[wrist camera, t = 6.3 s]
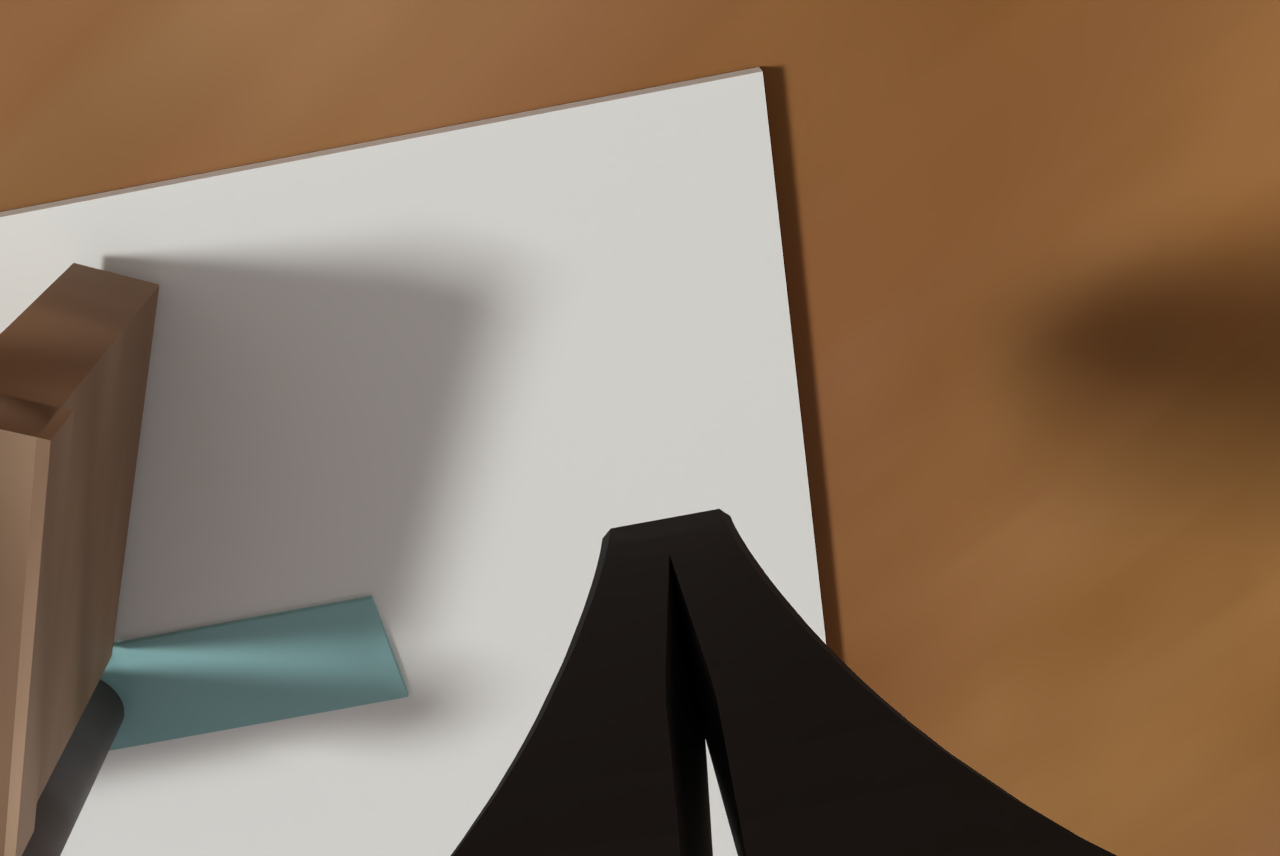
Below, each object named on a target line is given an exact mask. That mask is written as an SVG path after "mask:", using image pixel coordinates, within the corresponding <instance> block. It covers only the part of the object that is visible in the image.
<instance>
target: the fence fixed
mask: <svg viewBox="0 0 1280 856" xmlns="http://www.w3.org/2000/svg"><path fill="white" fill-rule="evenodd" d="M123 718H124V706H123V703H122V701H121V698H120V697H119V695H118V694H117V693H116V691H115V690H114V689H113V688H112V687H111V686H109V685H108V684H107V683H105V682H104V681H102V680H99V682H98V684H97V686H96V688H95V690H94V692H93V694H92V696H91V698H90V700H89V702H88V704H87V706H86V708H85V710H84V712H83V713H82V715H81V717H80V719H79V721H78V723H77V725H76V727H75V729H74V731H73V733H72V735H71V737H70V739H69V741H68V743H67V745H66V747H65V749H64V751H63V753H62V755H61V756H60V758H59V760H58V762H57V764H56V766H55V768H54V770H53V772H52V774H51V776H50V778H49V780H48V782H47V784H46V786H45V788H44V790H43V792H42V794H41V796H40V798H39V800H38V801H37V806H36V817H35V827H34V832H33V834H32V836H31V838H30V840H29V842H28V844H27V846H26V848H25V850H24V852H23V854H22V856H60V855H61V853H62V851H63V849H64V847H65V845H66V842H67V840H68V838H69V836H70V834H71V832H72V829H73V827H74V825H75V823H76V821H77V819H78V817H79V814H80V812H81V810H82V808H83V806H84V804H85V801H86V799H87V797H88V795H89V793H90V791H91V788H92V786H93V784H94V782H95V780H96V778H97V776H98V773H99V771H100V769H101V767H102V765H103V763H104V760H105V758H106V756H107V754H108V752H109V750H110V747H111V745H112V743H113V741H114V739H115V737H116V735H117V732H118V730H119V728H120V726H121V724H122V722H123Z"/></svg>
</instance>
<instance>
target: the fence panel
mask: <svg viewBox="0 0 1280 856" xmlns="http://www.w3.org/2000/svg"><path fill="white" fill-rule="evenodd" d="M158 292H159V284H155V283H151V282H147V281H143V280H139V279H135V278H131V277H127V276H123V275H119V274H116V273H112V272H108V271H104V270H100V269H96V268H92V267H88V266H84V265H80V264H76V263H73V264H72V265H71V266H70V267H69V268H68V269H67V270H66V271H65V272H64V273H63V274H62V275H61V276H60V277H58V278H57V279H56V280H55V281H54V282H53V283H52V284H51V285H50V286H49V287H48V288H47V289H46V290H45V291H44V292H43V293H42V294H41V295H40V296H39V297H38V298H37V299H36V300H35V301H34V302H33V303H32V304H31V305H30V306H29V307H28V308H27V309H25V310H24V311H23V312H22V313H21V314H20V315H19V316H18V317H17V318H16V319H15V320H14V321H13V322H12V323H11V324H10V325H9V326H8V327H7V328H6V329H5V330H4V331H3V332H2V333H1V334H0V856H22V854H23V852H24V850H25V848H26V846H27V844H28V842H29V840H30V838H31V836H32V834H33V832H34V827H35V817H36V806H37V801H38V800H39V798H40V796H41V794H42V792H43V790H44V788H45V786H46V784H47V782H48V780H49V778H50V776H51V774H52V772H53V770H54V768H55V766H56V764H57V762H58V760H59V758H60V756H61V755H62V753H63V751H64V749H65V747H66V745H67V743H68V741H69V739H70V737H71V735H72V733H73V731H74V729H75V727H76V725H77V723H78V721H79V719H80V717H81V715H82V713H83V712H84V710H85V708H86V706H87V704H88V702H89V700H90V698H91V696H92V694H93V692H94V690H95V688H96V686H97V684H98V682H99V680H100V678H101V676H102V674H103V672H104V670H105V668H106V667H107V665H108V663H109V661H110V659H111V657H112V650H113V643H114V635H115V627H116V619H117V611H118V604H119V596H120V588H121V580H122V573H123V565H124V557H125V549H126V541H127V534H128V526H129V518H130V510H131V503H132V495H133V487H134V479H135V471H136V464H137V456H138V448H139V440H140V432H141V425H142V417H143V409H144V401H145V394H146V386H147V378H148V370H149V362H150V355H151V347H152V339H153V331H154V324H155V316H156V308H157V300H158Z"/></svg>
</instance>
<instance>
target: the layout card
mask: <svg viewBox="0 0 1280 856" xmlns="http://www.w3.org/2000/svg"><path fill="white" fill-rule="evenodd" d="M73 263H76V264H80V265H84V266H88V267H92V268H96V269H100V270H104V271H108V272H112V273H116V274H119V275H123V276H127V277H131V278H135V279H139V280H143V281H147V282H151V283H155V284H159V292H158V300H157V308H156V316H155V324H154V331H153V339H152V347H151V355H150V362H149V370H148V378H147V386H146V394H145V401H144V409H143V417H142V425H141V432H140V440H139V448H138V456H137V464H136V471H135V479H134V487H133V495H132V503H131V510H130V518H129V526H128V534H127V541H126V549H125V557H124V565H123V573H122V580H121V588H120V596H119V604H118V611H117V619H116V627H115V635H114V643H113V650H112V657H111V659H110V661H109V663H108V665H107V667H106V668H105V670H104V672H103V674H102V676H101V678H100V680H102V681H104V682H105V683H107V684H108V685H109V686H111V687H112V688H113V689H114V690H115V691H116V693H117V694H118V695H119V697H120V698H121V701H122V703H123V706H124V718H123V722H122V724H121V726H120V728H119V730H118V732H117V735H116V737H115V739H114V741H113V743H112V745H111V747H110V750H109V752H108V754H107V756H106V758H105V760H104V763H103V765H102V767H101V769H100V771H99V773H98V776H97V778H96V780H95V782H94V784H93V786H92V788H91V791H90V793H89V795H88V797H87V799H86V801H85V804H84V806H83V808H82V810H81V812H80V814H79V817H78V819H77V821H76V823H75V825H74V827H73V829H72V832H71V834H70V836H69V838H68V840H67V842H66V845H65V847H64V849H63V851H62V853H61V855H60V856H451V854H452V853H453V851H454V850H455V849H456V847H457V846H458V845H459V843H460V842H461V840H462V839H463V838H464V836H465V835H466V833H467V832H468V830H469V829H470V827H471V826H472V824H473V823H474V821H475V820H476V818H477V817H478V815H479V814H480V812H481V811H482V809H483V808H484V806H485V805H486V803H487V802H488V800H489V799H490V798H491V796H492V795H493V793H494V791H495V790H496V788H497V787H498V785H499V783H500V782H501V780H502V778H503V777H504V775H505V773H506V772H507V770H508V768H509V767H510V765H511V763H512V762H513V760H514V758H515V757H516V755H517V753H518V751H519V749H520V748H521V746H522V744H523V742H524V740H525V739H526V737H527V735H528V733H529V731H530V729H531V727H532V726H533V724H534V722H535V720H536V718H537V716H538V714H539V712H540V710H541V707H542V705H543V703H544V701H545V699H546V697H547V695H548V693H549V691H550V688H551V686H552V684H553V682H554V680H555V678H556V676H557V674H558V672H559V669H560V667H561V665H562V663H563V660H564V658H565V656H566V653H567V651H568V648H569V645H570V643H571V640H572V638H573V635H574V633H575V630H576V627H577V625H578V622H579V620H580V617H581V614H582V612H583V609H584V606H585V603H586V600H587V597H588V594H589V591H590V588H591V585H592V581H593V578H594V575H595V571H596V567H597V563H598V559H599V555H600V550H601V544H602V538H603V537H604V536H605V535H606V534H607V532H608V531H609V530H610V529H611V528H616V527H621V526H627V525H632V524H638V523H643V522H649V521H654V520H660V519H665V518H671V517H676V516H682V515H687V514H693V513H698V512H704V511H709V510H715V509H720V510H722V511H723V512H725V513H727V514H728V515H730V516H731V519H732V521H733V523H734V525H735V527H736V529H737V531H738V533H739V534H740V536H741V538H742V540H743V541H744V543H745V544H746V546H747V548H748V549H749V551H750V552H751V554H752V555H753V557H754V558H755V559H756V561H757V562H758V564H759V565H760V566H761V568H762V569H763V570H764V572H765V573H766V575H767V576H768V577H769V579H770V580H771V581H772V582H773V584H774V585H775V586H776V588H777V589H778V590H779V591H780V593H781V594H782V595H783V596H784V597H785V598H786V600H787V601H788V602H789V603H790V604H791V606H792V607H793V608H794V609H795V610H796V611H797V613H798V614H799V615H800V616H801V617H802V619H803V620H804V621H805V622H806V623H807V624H808V626H809V627H810V628H811V629H812V630H813V631H814V632H815V633H816V634H817V635H818V636H819V637H820V639H821V640H822V641H823V642H824V643H825V644H826V638H825V629H824V620H823V611H822V602H821V593H820V584H819V575H818V566H817V557H816V548H815V539H814V530H813V521H812V512H811V503H810V494H809V485H808V476H807V467H806V458H805V449H804V440H803V431H802V422H801V413H800V404H799V395H798V386H797V377H796V368H795V359H794V350H793V341H792V332H791V323H790V314H789V305H788V296H787V287H786V278H785V269H784V260H783V251H782V242H781V233H780V224H779V215H778V206H777V197H776V188H775V179H774V169H773V160H772V151H771V142H770V133H769V124H768V115H767V106H766V97H765V88H764V79H763V71H762V70H761V69H760V67H756V68H751V69H746V70H741V71H735V72H730V73H725V74H720V75H715V76H709V77H704V78H699V79H694V80H688V81H683V82H678V83H673V84H668V85H662V86H657V87H652V88H647V89H641V90H636V91H631V92H626V93H620V94H615V95H610V96H605V97H600V98H594V99H589V100H584V101H579V102H573V103H568V104H563V105H558V106H553V107H547V108H542V109H537V110H532V111H526V112H521V113H516V114H511V115H506V116H500V117H495V118H490V119H485V120H479V121H474V122H469V123H464V124H459V125H453V126H448V127H443V128H438V129H432V130H427V131H422V132H417V133H412V134H406V135H401V136H396V137H391V138H385V139H380V140H375V141H370V142H365V143H359V144H354V145H349V146H344V147H338V148H333V149H328V150H323V151H318V152H312V153H307V154H302V155H297V156H291V157H286V158H281V159H276V160H271V161H265V162H260V163H255V164H250V165H244V166H239V167H234V168H229V169H223V170H218V171H213V172H208V173H203V174H197V175H192V176H187V177H182V178H176V179H171V180H166V181H161V182H156V183H150V184H145V185H140V186H135V187H129V188H124V189H119V190H114V191H109V192H103V193H98V194H93V195H88V196H82V197H77V198H72V199H67V200H62V201H56V202H51V203H46V204H41V205H35V206H30V207H25V208H20V209H15V210H9V211H4V212H0V334H1V333H2V332H3V331H4V330H5V329H6V328H7V327H8V326H9V325H10V324H11V323H12V322H13V321H14V320H15V319H16V318H17V317H18V316H19V315H20V314H21V313H22V312H23V311H24V310H25V309H27V308H28V307H29V306H30V305H31V304H32V303H33V302H34V301H35V300H36V299H37V298H38V297H39V296H40V295H41V294H42V293H43V292H44V291H45V290H46V289H47V288H48V287H49V286H50V285H51V284H52V283H53V282H54V281H55V280H56V279H57V278H58V277H60V276H61V275H62V274H63V273H64V272H65V271H66V270H67V269H68V268H69V267H70V266H71V265H72V264H73ZM705 741H706V739H705ZM706 756H707V771H708V786H709V802H710V817H711V833H712V849H713V856H738V855H737V851H736V847H735V844H734V840H733V837H732V833H731V829H730V826H729V822H728V819H727V815H726V811H725V808H724V804H723V801H722V797H721V793H720V790H719V786H718V782H717V779H716V775H715V772H714V768H713V764H712V761H711V757H710V753H709V750H708V746H707V743H706Z"/></svg>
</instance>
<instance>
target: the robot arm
mask: <svg viewBox="0 0 1280 856" xmlns="http://www.w3.org/2000/svg"><path fill="white" fill-rule="evenodd" d="M705 739H706V741H705ZM706 743H707V746H708V750H709V753H710V757H711V761H712V764H713V768H714V772H715V775H716V779H717V782H718V786H719V790H720V793H721V797H722V801H723V804H724V808H725V811H726V815H727V819H728V822H729V826H730V829H731V833H732V837H733V840H734V844H735V847H736V851H737V855H738V856H1116V855H1114V854H1112V853H1110V852H1108V851H1106V850H1104V849H1102V848H1100V847H1098V846H1096V845H1094V844H1092V843H1090V842H1088V841H1086V840H1084V839H1082V838H1080V837H1079V836H1077V835H1075V834H1074V833H1072V832H1070V831H1069V830H1067V829H1065V828H1064V827H1062V826H1060V825H1059V824H1057V823H1055V822H1054V821H1052V820H1050V819H1048V818H1047V817H1045V816H1043V815H1042V814H1040V813H1038V812H1037V811H1035V810H1033V809H1032V808H1030V807H1028V806H1027V805H1025V804H1024V803H1022V802H1021V801H1019V800H1018V799H1016V798H1015V797H1013V796H1012V795H1010V794H1009V793H1007V792H1006V791H1004V790H1003V789H1002V788H1000V787H999V786H997V785H996V784H994V783H993V782H991V781H990V780H988V779H987V778H985V777H984V776H982V775H981V774H979V773H978V772H977V771H975V770H974V769H972V768H971V767H969V766H968V765H966V764H965V763H963V762H962V761H960V760H959V759H957V758H956V757H955V756H953V755H952V754H950V753H949V752H948V751H946V750H945V749H944V748H942V747H941V746H940V745H938V744H937V743H936V742H935V741H933V740H932V739H931V738H930V737H928V736H927V735H926V734H924V733H923V732H922V731H921V730H919V729H918V728H917V727H915V726H914V725H913V724H912V723H910V722H909V721H908V720H907V719H906V718H904V717H903V716H902V715H901V714H900V713H899V712H897V711H896V710H895V709H894V708H893V707H891V706H890V705H889V704H888V703H887V702H886V701H884V700H883V699H882V698H881V697H880V696H879V695H878V694H876V693H875V692H874V691H873V690H872V689H871V688H870V687H869V686H868V685H867V684H866V683H864V682H863V681H862V680H861V679H860V678H859V677H858V676H857V675H856V674H855V673H854V672H853V671H852V670H851V669H850V668H849V667H848V666H847V665H846V664H845V663H844V662H843V661H842V660H841V659H840V658H839V657H838V656H837V655H836V654H835V653H834V652H833V651H832V650H831V649H830V648H829V647H828V646H827V645H826V644H825V643H824V642H823V641H822V640H821V639H820V637H819V636H818V635H817V634H816V633H815V632H814V631H813V630H812V629H811V628H810V627H809V626H808V624H807V623H806V622H805V621H804V620H803V619H802V617H801V616H800V615H799V614H798V613H797V611H796V610H795V609H794V608H793V607H792V606H791V604H790V603H789V602H788V601H787V600H786V598H785V597H784V596H783V595H782V594H781V593H780V591H779V590H778V589H777V588H776V586H775V585H774V584H773V582H772V581H771V580H770V579H769V577H768V576H767V575H766V573H765V572H764V570H763V569H762V568H761V566H760V565H759V564H758V562H757V561H756V559H755V558H754V557H753V555H752V554H751V552H750V551H749V549H748V548H747V546H746V544H745V543H744V541H743V540H742V538H741V536H740V534H739V533H738V531H737V529H736V527H735V525H734V523H733V521H732V519H731V516H730V515H728V514H727V513H725V512H723V511H722V510H720V509H715V510H709V511H704V512H698V513H693V514H687V515H682V516H676V517H671V518H665V519H660V520H654V521H649V522H643V523H638V524H632V525H627V526H621V527H616V528H611V529H610V530H609V531H608V532H607V534H606V535H605V536H604V537H603V538H602V544H601V550H600V555H599V559H598V563H597V567H596V571H595V575H594V578H593V581H592V585H591V588H590V591H589V594H588V597H587V600H586V603H585V606H584V609H583V612H582V614H581V617H580V620H579V622H578V625H577V627H576V630H575V633H574V635H573V638H572V640H571V643H570V645H569V648H568V651H567V653H566V656H565V658H564V660H563V663H562V665H561V667H560V669H559V672H558V674H557V676H556V678H555V680H554V682H553V684H552V686H551V688H550V691H549V693H548V695H547V697H546V699H545V701H544V703H543V705H542V707H541V710H540V712H539V714H538V716H537V718H536V720H535V722H534V724H533V726H532V727H531V729H530V731H529V733H528V735H527V737H526V739H525V740H524V742H523V744H522V746H521V748H520V749H519V751H518V753H517V755H516V757H515V758H514V760H513V762H512V763H511V765H510V767H509V768H508V770H507V772H506V773H505V775H504V777H503V778H502V780H501V782H500V783H499V785H498V787H497V788H496V790H495V791H494V793H493V795H492V796H491V798H490V799H489V800H488V802H487V803H486V805H485V806H484V808H483V809H482V811H481V812H480V814H479V815H478V817H477V818H476V820H475V821H474V823H473V824H472V826H471V827H470V829H469V830H468V832H467V833H466V835H465V836H464V838H463V839H462V840H461V842H460V843H459V845H458V846H457V847H456V849H455V850H454V851H453V853H452V854H451V856H713V849H712V833H711V817H710V802H709V786H708V771H707V756H706Z"/></svg>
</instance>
